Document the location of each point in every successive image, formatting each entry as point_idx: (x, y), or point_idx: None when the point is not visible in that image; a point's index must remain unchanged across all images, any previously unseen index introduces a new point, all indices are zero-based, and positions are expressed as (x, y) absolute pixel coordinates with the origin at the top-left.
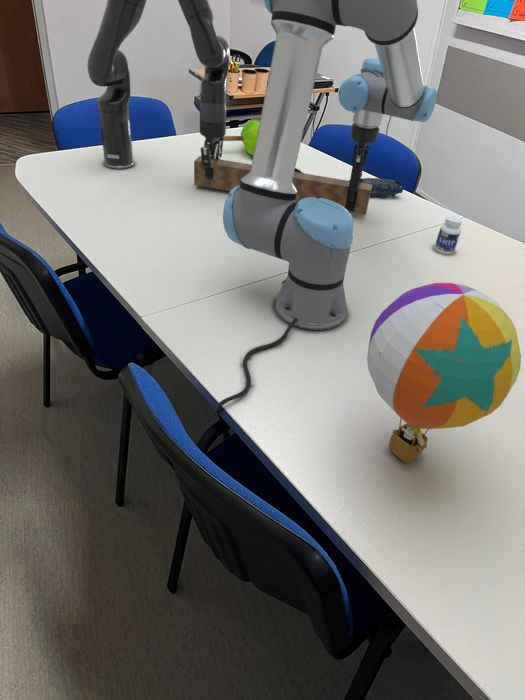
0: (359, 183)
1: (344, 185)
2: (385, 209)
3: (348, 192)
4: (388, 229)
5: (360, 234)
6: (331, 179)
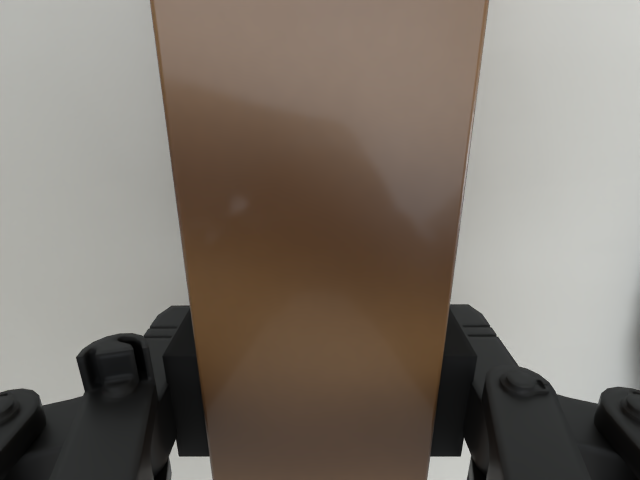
0: (390, 462)
1: (209, 303)
2: (466, 445)
3: (183, 331)
4: (187, 473)
5: (21, 353)
6: (391, 45)
